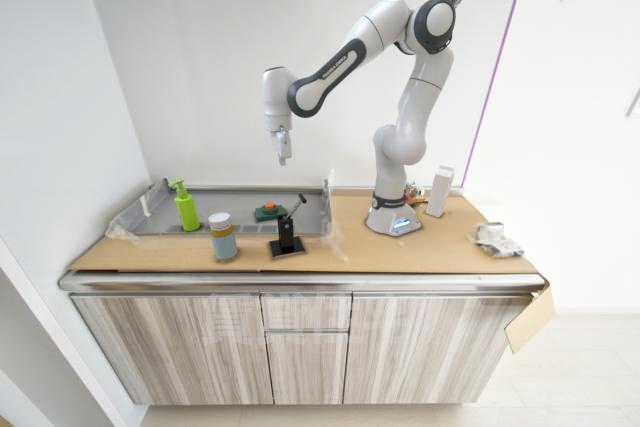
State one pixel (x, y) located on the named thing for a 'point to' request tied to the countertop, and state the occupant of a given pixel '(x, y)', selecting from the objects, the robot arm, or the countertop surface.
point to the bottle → (223, 236)
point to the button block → (268, 213)
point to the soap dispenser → (186, 207)
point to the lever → (296, 206)
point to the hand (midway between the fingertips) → (282, 164)
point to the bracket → (285, 238)
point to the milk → (440, 191)
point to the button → (269, 206)
